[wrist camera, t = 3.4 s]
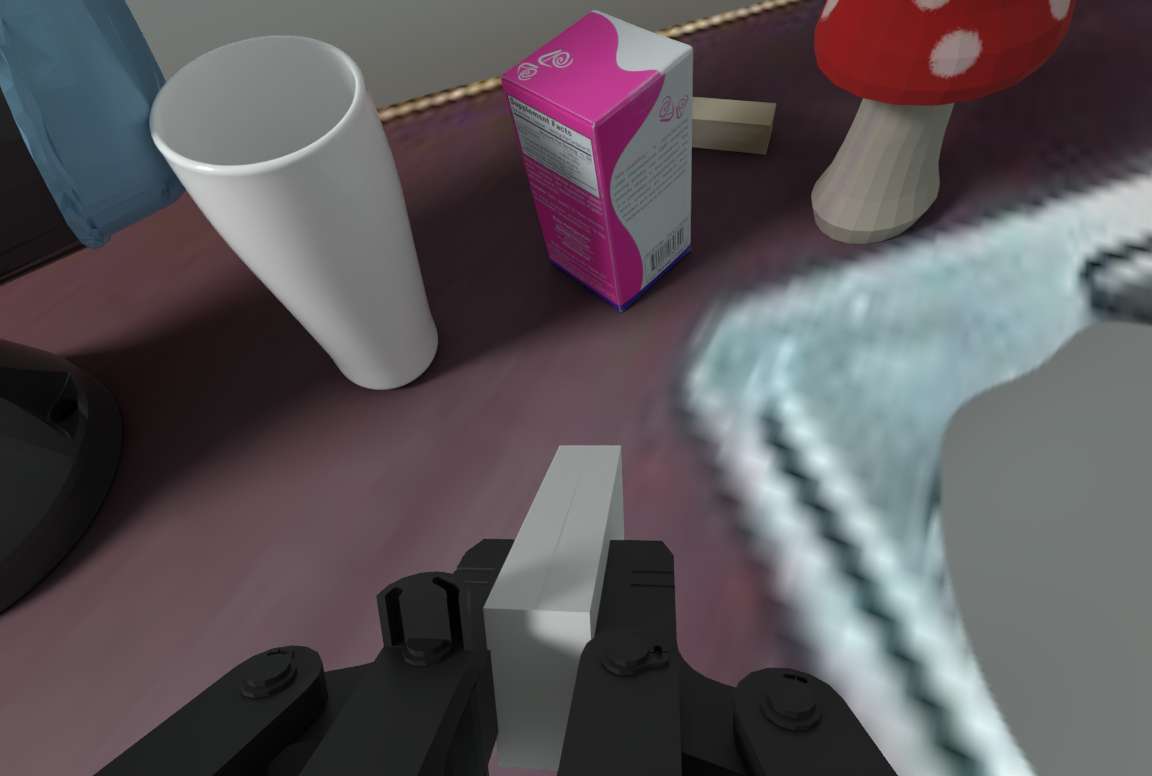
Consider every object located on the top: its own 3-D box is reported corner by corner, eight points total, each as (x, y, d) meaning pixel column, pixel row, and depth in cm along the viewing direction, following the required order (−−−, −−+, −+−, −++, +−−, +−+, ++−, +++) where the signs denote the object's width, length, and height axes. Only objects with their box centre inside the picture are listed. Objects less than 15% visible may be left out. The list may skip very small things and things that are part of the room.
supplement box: (615, 204, 36) (596, 2, 26) (693, 251, 33) (704, 46, 23) (544, 262, 34) (495, 70, 24) (620, 316, 32) (599, 126, 22)
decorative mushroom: (884, 131, 36) (1005, -209, 23) (1002, 217, 32) (1231, -142, 19) (743, 201, 35) (788, -118, 22) (847, 301, 30) (978, -24, 17)
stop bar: (534, 131, 40) (528, 104, 38) (544, 112, 41) (539, 84, 39) (765, 154, 36) (770, 125, 34) (771, 132, 37) (776, 103, 35)
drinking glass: (336, 424, 30) (145, 198, 17) (316, 319, 33) (141, 56, 20) (468, 383, 31) (385, 139, 18) (437, 285, 34) (347, 14, 21)
